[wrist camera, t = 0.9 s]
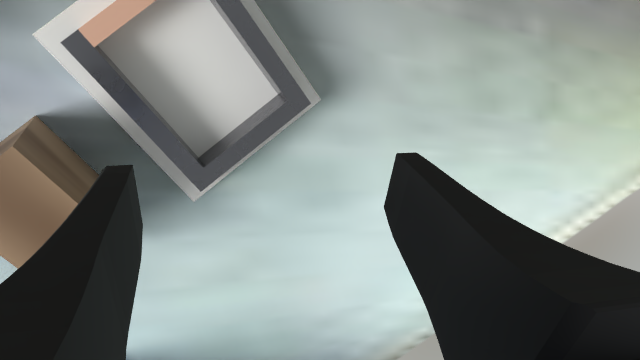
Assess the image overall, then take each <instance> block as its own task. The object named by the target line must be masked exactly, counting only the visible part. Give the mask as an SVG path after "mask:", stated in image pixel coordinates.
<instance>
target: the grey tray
mask: <svg viewBox="0 0 640 360" xmlns="http://www.w3.org/2000/svg"><path fill="white" fill-rule="evenodd" d="M32 35H33V36H34V37H35V38H36V39H37V40H38V41H39V42H40V43H41V44H42V45H43V46H44V47H45V48H46V49H47V50H48V51H49V52H50V53H51V54H52V56H53V57H54V58H55V59H56V60H57V61H58V62H59V63H60V64H61V65H62V66H63V67H64V68H65V69H66V70H67V71H68V72H69V73H70V74H71V75H72V76H73V77H74V78H75V79H76V80H77V81H78V82H79V83H80V85H81V86H82V87H83V88H84V89H85V90H86V91H87V92H88V93H89V94H90V95H91V96H92V97H93V98H94V99H95V100H96V101H97V102H98V103H99V104H100V105H101V106H102V107H103V108H104V109H105V110H106V111H107V113H108V114H109V115H110V116H111V117H112V118H113V119H114V120H115V121H116V122H117V123H118V124H119V125H120V126H121V127H122V128H123V129H124V130H125V131H126V132H127V133H128V134H129V135H130V136H131V137H132V138H133V139H134V140H135V142H136V143H137V144H138V145H139V146H140V147H141V148H142V149H143V150H144V151H145V152H146V153H147V154H148V155H149V156H150V157H151V158H152V159H153V160H154V161H155V162H156V163H157V164H158V165H159V166H160V167H161V168H162V169H163V171H164V172H165V173H166V174H167V175H168V176H169V177H170V178H171V179H172V180H173V181H174V182H175V183H176V184H177V185H178V186H179V187H180V188H181V189H182V190H183V191H184V192H185V193H186V194H187V195H188V196H189V197H190V198H191V200H192V201H193V202H195V201H196V200H197V199H198V198H200V197H201V196H202V195H203V194H205V193H206V192H207V191H208V190H210V189H211V188H212V187H213V186H215V185H216V184H217V183H218V182H220V181H221V180H222V179H223V178H225V177H226V176H227V175H228V174H230V173H231V172H232V171H233V170H234V169H236V168H237V167H238V166H239V165H241V164H242V163H243V162H244V161H246V160H247V159H248V158H249V157H251V156H252V155H253V154H254V153H256V152H257V151H258V150H259V149H261V148H262V147H263V146H264V145H266V144H267V143H268V142H269V141H271V140H272V139H273V138H274V137H276V136H277V135H278V134H279V133H281V132H282V131H283V130H284V129H286V128H287V127H288V126H289V125H291V124H292V123H293V122H294V121H296V120H297V119H298V118H299V117H301V116H302V115H303V114H304V113H306V112H307V111H308V110H309V109H311V108H312V107H313V106H314V105H315V104H317V103H318V102H319V101H320V100H321V99H320V97H319V96H318V94H317V93H316V91H315V90H314V88H313V87H312V85H311V84H310V82H309V81H308V79H307V78H306V76H305V75H304V73H303V72H302V70H301V69H300V67H299V66H298V64H297V63H296V61H295V60H294V58H293V57H292V56H291V54H290V53H289V51H288V50H287V48H286V47H285V45H284V44H283V42H282V41H281V39H280V38H279V36H278V35H277V33H276V32H275V30H274V29H273V27H272V26H271V24H270V23H269V21H268V20H267V18H266V17H265V15H264V14H263V13H262V11H261V10H260V8H259V7H258V5H257V4H256V2H255V1H254V0H78V1H76V2H75V3H74V4H72V5H71V6H69V7H68V8H67V9H65V10H64V11H63V12H61V13H60V14H59V15H57V16H56V17H55V18H53V19H52V20H51V21H49V22H48V23H47V24H45V25H44V26H43V27H41V28H40V29H39V30H37V31H36V32H35V33H33V34H32Z"/></svg>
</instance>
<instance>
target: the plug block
mask: <svg viewBox="0 0 640 360" xmlns="http://www.w3.org/2000/svg"><path fill="white" fill-rule="evenodd" d="M98 176H99V175H98V174H97V173H96V172H95V171H94V170H93V169H92V168H91V167H90V166H89V165H88V164H87V163H86V162H85V161H83V160H82V159H81V158H80V157H79V156H78V155H77V154H76V153H75V152H74V151H73V150H72V149H71V148H70V147H69V146H68V145H66V144H65V143H64V142H63V141H62V140H61V139H60V138H59V137H58V136H57V135H56V134H55V133H54V132H53V131H52V130H51V129H49V128H48V127H47V126H46V125H45V124H44V123H43V122H42V121H41V120H40V119H39V118H38V117H37V116H34V117H33V118H32V119H30V120H29V121H28V122H26V123H25V124H24V125H22V126H21V127H20V128H19V129H17V130H16V131H15V132H13V133H12V134H11V135H9V136H8V137H7V138H5V139H4V140H3V141H2V142H0V256H2V257H3V258H4V259H6V260H7V261H9V262H10V263H11V264H13V265H14V266H15V267H17V268H18V269H19V268H20V267H21V266H22V265H23V264H24V263H25V262H26V261H27V260H28V259H29V258H30V257H31V256H32V255H33V254H34V253H35V252H36V251H37V250H38V249H39V248H40V247H41V246H42V245H43V244H44V243H45V242H46V241H47V240H48V239H49V238H50V237H51V235H52V234H53V233H54V232H55V231H56V230H57V229H58V228H59V227H60V226H61V224H62V223H63V222H64V221H65V220H66V219H67V217H68V216H69V215H70V214H71V212H72V211H73V210H74V209H75V207H76V206H77V205H78V204H79V202H80V201H81V200H82V198H83V197H84V196H85V194H86V193H87V192H88V190H89V189H90V188H91V186H92V185H93V184H94V182H95V181H96V179H97V178H98Z"/></svg>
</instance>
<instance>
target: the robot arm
mask: <svg viewBox="0 0 640 360" xmlns="http://www.w3.org/2000/svg"><path fill="white" fill-rule="evenodd" d="M384 209H385V213H386V216H387V220H388V223H389V226H390V229H391V232H392V235H393V238H394V240H395V242H396V244H397V246H398V249H399V251H400V253H401V255H402V257H403V259H404V261H405V263H406V265H407V268H408V270H409V272H410V274H411V276H412V278H413V280H414V282H415V284H416V286H417V288H418V290H419V292H420V295H421V297H422V299H423V301H424V304H425V306H426V308H427V311H428V313H429V316H430V319H431V322H432V325H433V327H434V330H435V333H436V336H437V339H438V341H439V344H440V348H441V351H442V354H443V357H444V360H640V272H637V271H634V270H631V269H627V268H624V267H621V266H618V265H615V264H612V263H609V262H606V261H604V260H601V259H598V258H595V257H593V256H590V255H588V254H585V253H583V252H580V251H578V250H575V249H573V248H570V247H568V246H566V245H564V244H561V243H559V242H557V241H555V240H553V239H551V238H548V237H546V236H544V235H542V234H540V233H538V232H536V231H534V230H532V229H530V228H529V227H527V226H525V225H523V224H521V223H519V222H518V221H516V220H514V219H512V218H510V217H509V216H507V215H505V214H504V213H502V212H500V211H499V210H497V209H496V208H494V207H493V206H491V205H490V204H488V203H486V202H485V201H483V200H482V199H480V198H479V197H478V196H476V195H475V194H473V193H472V192H470V191H469V190H467V189H466V188H465V187H463V186H462V185H461V184H459V183H458V182H456V181H455V180H454V179H452V178H451V177H450V176H448V175H447V174H446V173H444V172H443V171H442V170H440V169H439V168H438V167H436V166H435V165H433V164H432V163H431V162H429V161H428V160H427V159H425V158H424V157H422V156H421V155H419V154H418V153H397V154H396V158H395V162H394V166H393V171H392V175H391V179H390V183H389V188H388V192H387V196H386V200H385V205H384ZM142 229H143V223H142V217H141V212H140V206H139V200H138V194H137V188H136V182H135V177H134V171H133V165H120V166H107V167H106V168H105V169H103V171H102V172H101V174H100V175H99V176H98V178H97V179H96V181H95V182H94V184H93V185H92V186H91V188H90V189H89V190H88V192H87V193H86V194H85V196H84V197H83V198H82V200H81V201H80V202H79V204H78V205H77V206H76V207H75V209H74V210H73V211H72V212H71V214H70V215H69V216H68V217H67V219H66V220H65V221H64V222H63V223H62V224H61V226H60V227H59V228H58V229H57V230H56V231H55V232H54V233H53V234H52V235H51V237H50V238H49V239H48V240H47V241H46V242H45V243H44V244H43V245H42V246H41V247H40V248H39V249H38V250H37V251H36V252H35V253H34V254H33V255H32V256H31V257H30V258H29V259H28V260H27V261H26V262H25V263H24V264H23V265H22V266H21V267H20V268H19V269H17V270H16V271H15V272H14V273H13V274H12V275H11V276H10V277H9V278H7V279H6V280H5V281H4V282H2V283H1V284H0V360H125V359H126V346H127V339H128V331H129V326H130V320H131V314H132V309H133V303H134V297H135V292H136V286H137V280H138V274H139V269H140V263H141V253H142Z"/></svg>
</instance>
